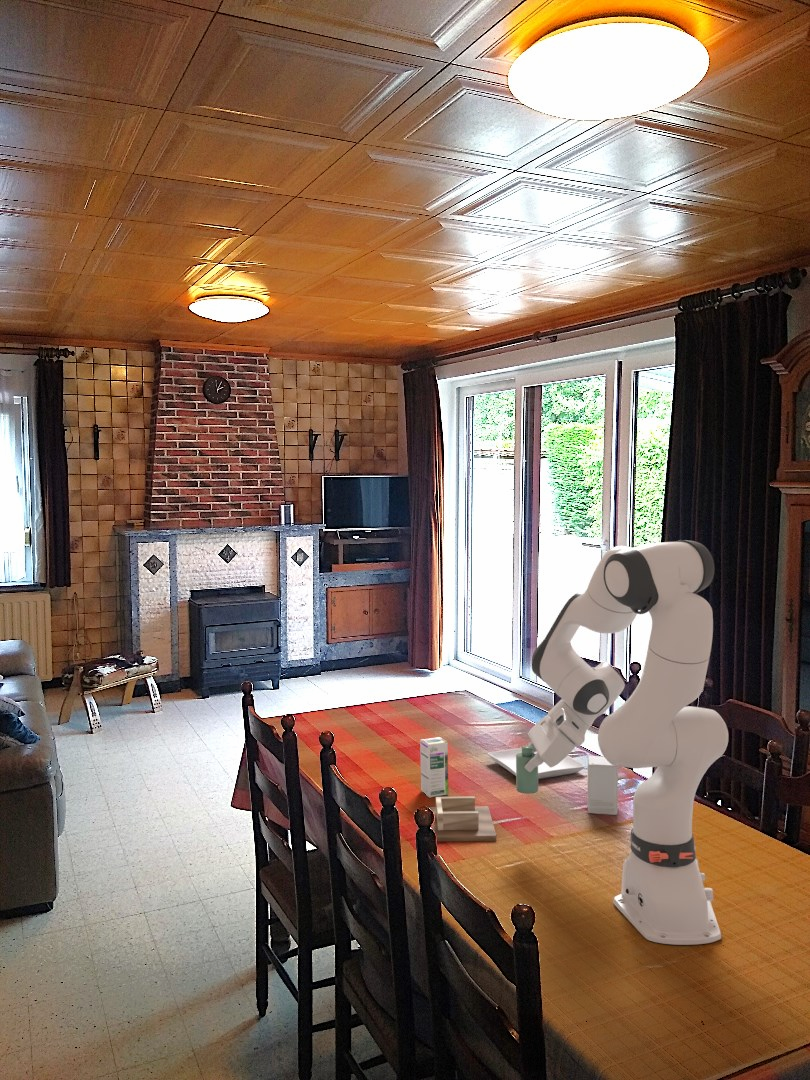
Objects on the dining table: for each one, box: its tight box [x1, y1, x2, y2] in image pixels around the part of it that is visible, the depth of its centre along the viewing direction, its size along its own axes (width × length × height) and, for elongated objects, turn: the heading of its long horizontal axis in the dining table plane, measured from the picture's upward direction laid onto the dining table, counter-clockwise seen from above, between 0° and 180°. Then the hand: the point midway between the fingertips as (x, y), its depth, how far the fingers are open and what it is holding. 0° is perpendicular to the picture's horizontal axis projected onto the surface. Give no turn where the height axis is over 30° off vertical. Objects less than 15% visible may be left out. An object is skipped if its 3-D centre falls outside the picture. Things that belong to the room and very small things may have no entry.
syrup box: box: [419, 736, 450, 799], centre depth 232 cm, size 6×6×14 cm
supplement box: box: [586, 755, 619, 816], centre depth 219 cm, size 7×7×13 cm
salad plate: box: [487, 747, 586, 780], centre depth 250 cm, size 21×21×3 cm
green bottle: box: [515, 745, 539, 795], centre depth 199 cm, size 5×5×10 cm
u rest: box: [426, 795, 497, 842], centre depth 210 cm, size 18×16×5 cm
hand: (524, 764), depth 199 cm, fingers closed on green bottle, 5 cm apart
